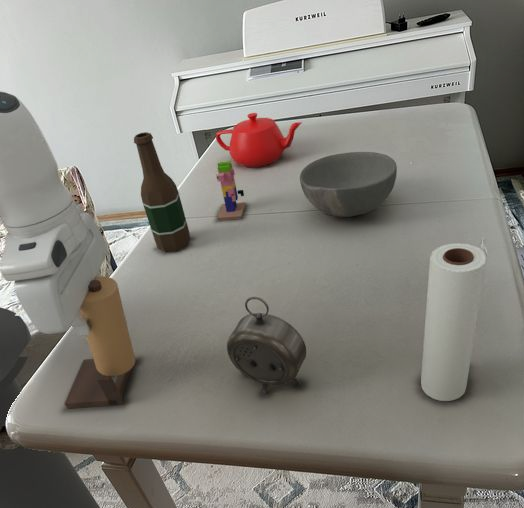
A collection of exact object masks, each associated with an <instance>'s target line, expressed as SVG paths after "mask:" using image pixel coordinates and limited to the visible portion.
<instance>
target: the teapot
mask: <svg viewBox="0 0 524 508" xmlns="http://www.w3.org/2000/svg"><path fill="white" fill-rule="evenodd" d="M246 116H247V119H245V120H242V121H240V122H238V123H237V124H235V125H234V126H233V128H232V129H222V130H219V131H218V132H216V133H215V140H216V142H217V144H218V145H219V146H220V147H221V148H222V149H223V150H224V151H228V152H229V155H230V157H231V159H232V160H233V161H234V162H235V163H236V164H238V165H240V166H243V167H246V168H261V167H266V166H269V165H271V164H273V163H275V162H276V161H277V160H278V159H279V158H280V157H282V156H283V153H284V151H285V150H286V149H288V148H291V146H292V143H293V141H294V137H295V133H296V130H297V129H298V128H299V127H300V125H301V124H303V122H301V121H299V122H298V121H297V122H294V123H292V124H290V127H289V128H288V129H289V130H288V133H287V135H286V137H284V134H283V133H282V131H281V129H280V128H279V125H278V124H277V123H276V121H275V120H274V119H272V118H271V117H258V113H257V112H251V113H248V114H247V115H246ZM226 134H227V135H228V134H231V137H230V141H229V145H227V144H226V143H225V142H224V141H223V139H222V137H221V135H226Z"/></svg>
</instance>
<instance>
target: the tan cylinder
mask: <svg viewBox="0 0 524 508" xmlns="http://www.w3.org/2000/svg"><path fill="white" fill-rule="evenodd" d="M88 288H89V291H88V293H87V295H86V297H85V299H84V301H83V303H82V305H81V307H80V309H79V310H80V311H81V315H80V316H81V317H82V318H83V319H86V318H88V319H89V321H90V324H91V325H92V328H91V331H90V333H89V335H85V337H86V340H87V343H88V346H89V349H90V353H91V355H92V359H94V362H95V365H96V369H97V370H98V372H100V373H101V374H103V375H106V376H112V378H113V380H114V382H116V379H117V376H118V375H121V374H124V373H126V372H127V371H129V370H130V369H131V370H132V369H133V367H134V366H135V358H136V355H135V352H134V348H133V344H132V339H131V335H130V331H129V326H128V323H127V319H126V315H125V310H124V306H123V302H122V298H121V297H122V296H121V294H120V290H119V285H118V282H117V281H116V280H115V279H113V278H112V277H109V276H104V275H103V276H102V275H101V276H97V277H95V279H94V280H92V281H91V282H90V284H89V286H88Z"/></svg>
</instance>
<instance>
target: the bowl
mask: <svg viewBox="0 0 524 508" xmlns="http://www.w3.org/2000/svg"><path fill="white" fill-rule="evenodd" d="M397 167H398V166H397V162H396V161H395V160H394V158H393V157H391V156H389V155H387V154H385V153H381V152H374V151H353V152H351V151H350V152H343V153H335V154H330V155H327V156H324V157H321V158H318V159H316V160H314V161H312V162H310V163H308V164H307V165H306V166H304V167H303V169H302V170H301V172H300V174H299V184H300V187H301V190H302V192H303V194H304V196H305V198H306V199H307V200H308V202H309V203H310V204H311V205H312V206H313V207H314V208H316V209H317V210H319V211H320V212H322V213H323V214H326V215H328V216H332V217H342V218H346V217H347V218H348V217H355V216H360V215H364V214H367V213H370V212H372V211H374V210H376V209H377V208H379V207H380V206H382V204H383V203H384V202H385V201H386V200H387V198H389V196H390V195H391V193H392V191H393V190H394V187H395V184H396V179H397V172H398V171H397V170H398V169H397Z"/></svg>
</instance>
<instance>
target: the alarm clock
mask: <svg viewBox="0 0 524 508" xmlns="http://www.w3.org/2000/svg"><path fill="white" fill-rule="evenodd" d="M251 300H258V301H259V302H262V304H264V306H265V308H266V312H265V313H264V312H254V313H253V312H252V311H251V310H250V309H249V307H248V303H249V301H251ZM244 307H245V310H246V311H247V313H249V314H246V315H244V316H243V317H242V318H240V319H239V321H238V323H237V325H236V326H235V328H234V329H233V331H232V333H231V334H230V336H228V339H227V343H226V351H227V356H228V358H229V359H230V362H231V363H232V364H233V366H234V367H235V368H236V369H237V370H238V371H239V373H241V374H242V375H244V376H245V377H246V378H248V379H249V380H251V381H253V382H256V383H258V384H260V385H261V387H262V390H261V391H262V394H264V395H266V394H267V392H268V386H271V387H277V386H279V387H280V386H284V385H288V384H289V383H291V382H292V381H293V382H295V383H296V385H297V386H301V385H302V381H300V379H299V378H298V374H299V372H300V370H301V367H302V365H303V364H304V362H305V360H306V357H307V345H306V342H305V340H304V339H303V336H302V335H301V334H300V333H299V331H298V330H297V329H296V328H295V327H294V326H293V325H291V323H289V322H288V321H286V320H284V319H282V318H280V317H278V316H276V315H273V314H269V310H270V306H269V304H268V303H267V302H266V301H265V300H264V299H263V298H261V297H258V296H250V297H248V298H246V300H245V302H244Z"/></svg>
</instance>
